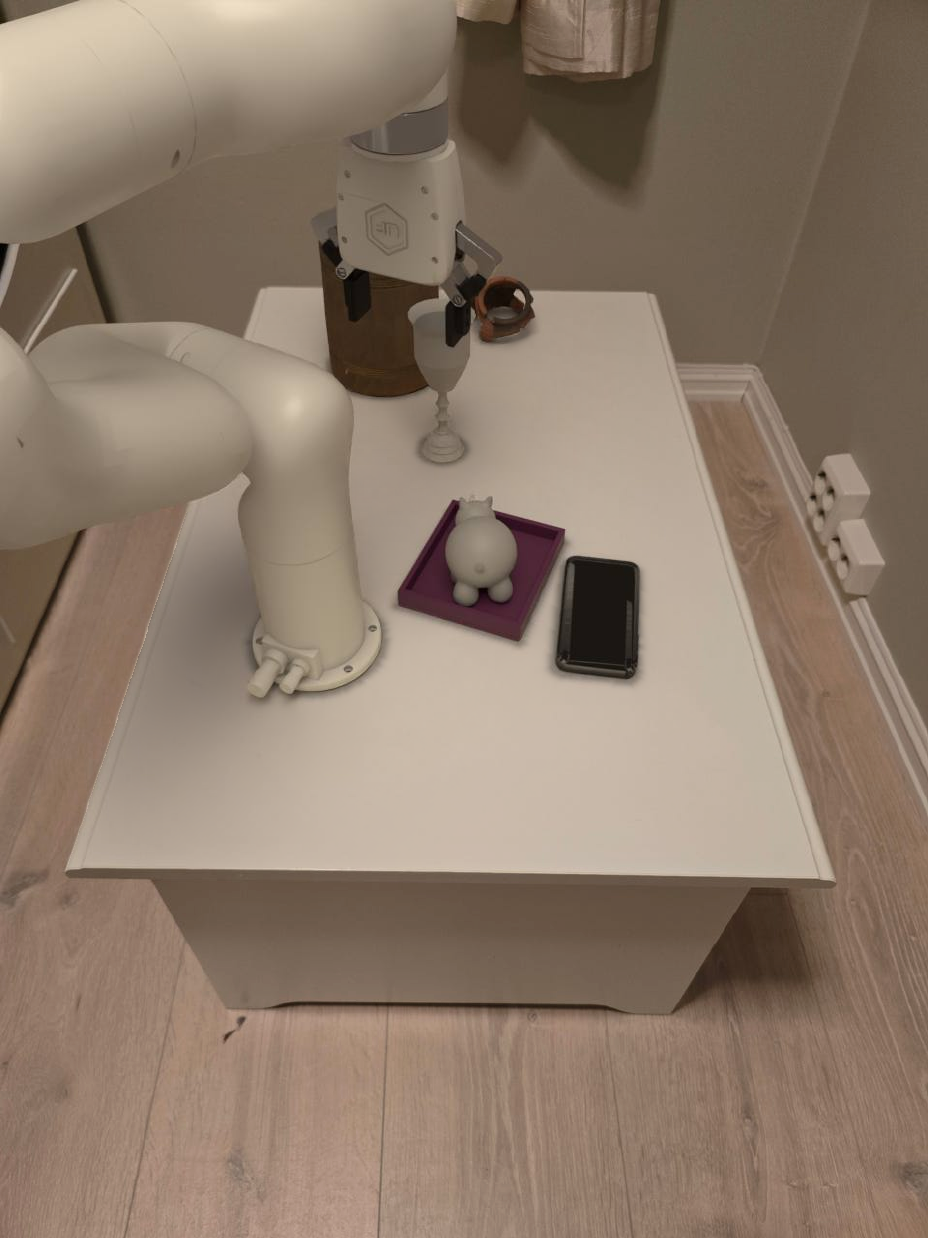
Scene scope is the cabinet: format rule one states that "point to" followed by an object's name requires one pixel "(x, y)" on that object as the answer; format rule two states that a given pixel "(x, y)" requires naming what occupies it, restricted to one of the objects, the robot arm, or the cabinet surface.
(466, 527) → the chubby cartoon animal
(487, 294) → the pottery mug
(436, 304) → the chalice
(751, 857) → the cabinet surface
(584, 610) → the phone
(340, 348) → the wooden container
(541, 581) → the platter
